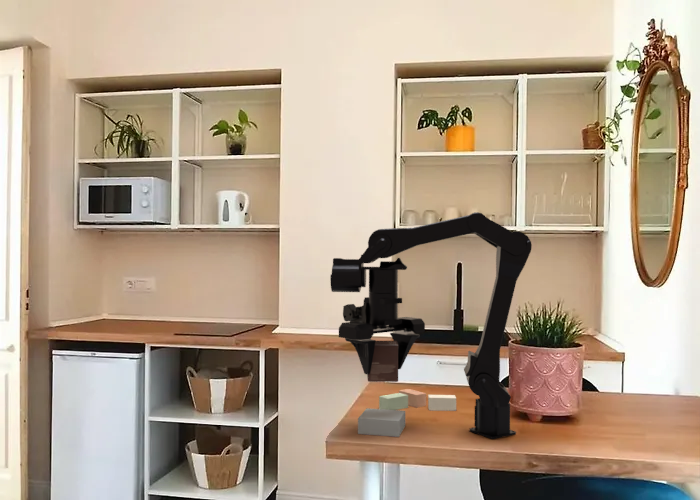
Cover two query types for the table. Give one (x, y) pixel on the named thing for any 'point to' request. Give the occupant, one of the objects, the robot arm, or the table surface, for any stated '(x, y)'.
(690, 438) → the table surface
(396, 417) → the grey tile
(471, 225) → the robot arm
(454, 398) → the cream brick
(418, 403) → the terracotta brick
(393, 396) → the sage brick
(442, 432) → the table surface
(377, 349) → the box
